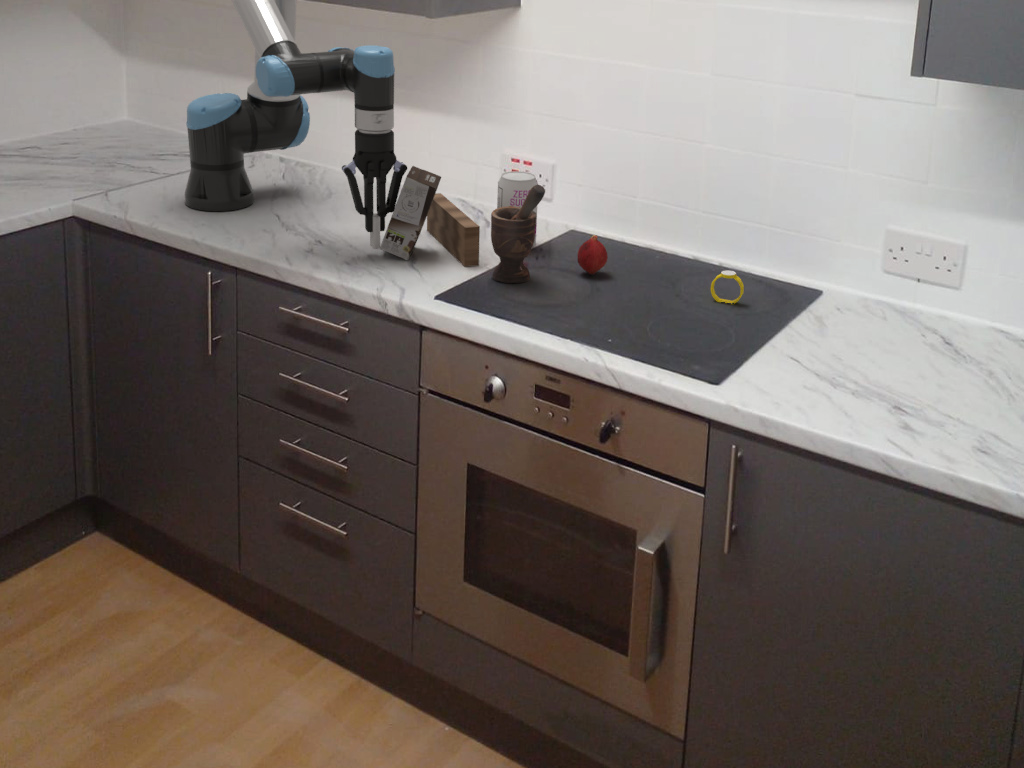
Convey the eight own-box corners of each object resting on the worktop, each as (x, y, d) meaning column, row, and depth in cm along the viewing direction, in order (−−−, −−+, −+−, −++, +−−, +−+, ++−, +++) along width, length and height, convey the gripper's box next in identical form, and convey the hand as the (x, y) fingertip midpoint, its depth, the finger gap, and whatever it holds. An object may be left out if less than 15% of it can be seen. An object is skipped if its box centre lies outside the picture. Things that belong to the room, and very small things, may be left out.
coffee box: (408, 261, 243) (436, 188, 237) (378, 249, 243) (405, 175, 236) (415, 246, 252) (442, 176, 245) (386, 235, 251) (412, 164, 244)
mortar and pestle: (555, 279, 237) (560, 178, 228) (534, 292, 230) (539, 189, 222) (502, 268, 242) (506, 169, 233) (481, 280, 235) (484, 179, 226)
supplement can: (515, 237, 259) (518, 168, 253) (543, 247, 254) (546, 176, 248) (487, 245, 254) (489, 174, 248) (515, 255, 249) (518, 183, 243)
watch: (709, 303, 229) (710, 273, 226) (712, 298, 231) (713, 268, 229) (740, 306, 227) (742, 276, 224) (743, 301, 229) (745, 271, 227)
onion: (584, 280, 237) (586, 241, 233) (571, 271, 241) (573, 232, 238) (611, 277, 239) (613, 238, 236) (597, 268, 244) (600, 229, 240)
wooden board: (427, 230, 262) (427, 194, 258) (440, 229, 263) (440, 193, 259) (464, 266, 242) (465, 227, 238) (478, 265, 243) (479, 226, 239)
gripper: (346, 135, 230) (348, 255, 240) (412, 132, 235) (411, 250, 244) (336, 126, 237) (339, 243, 246) (401, 124, 241) (401, 239, 251)
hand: (375, 246), depth 245 cm, fingers closed
